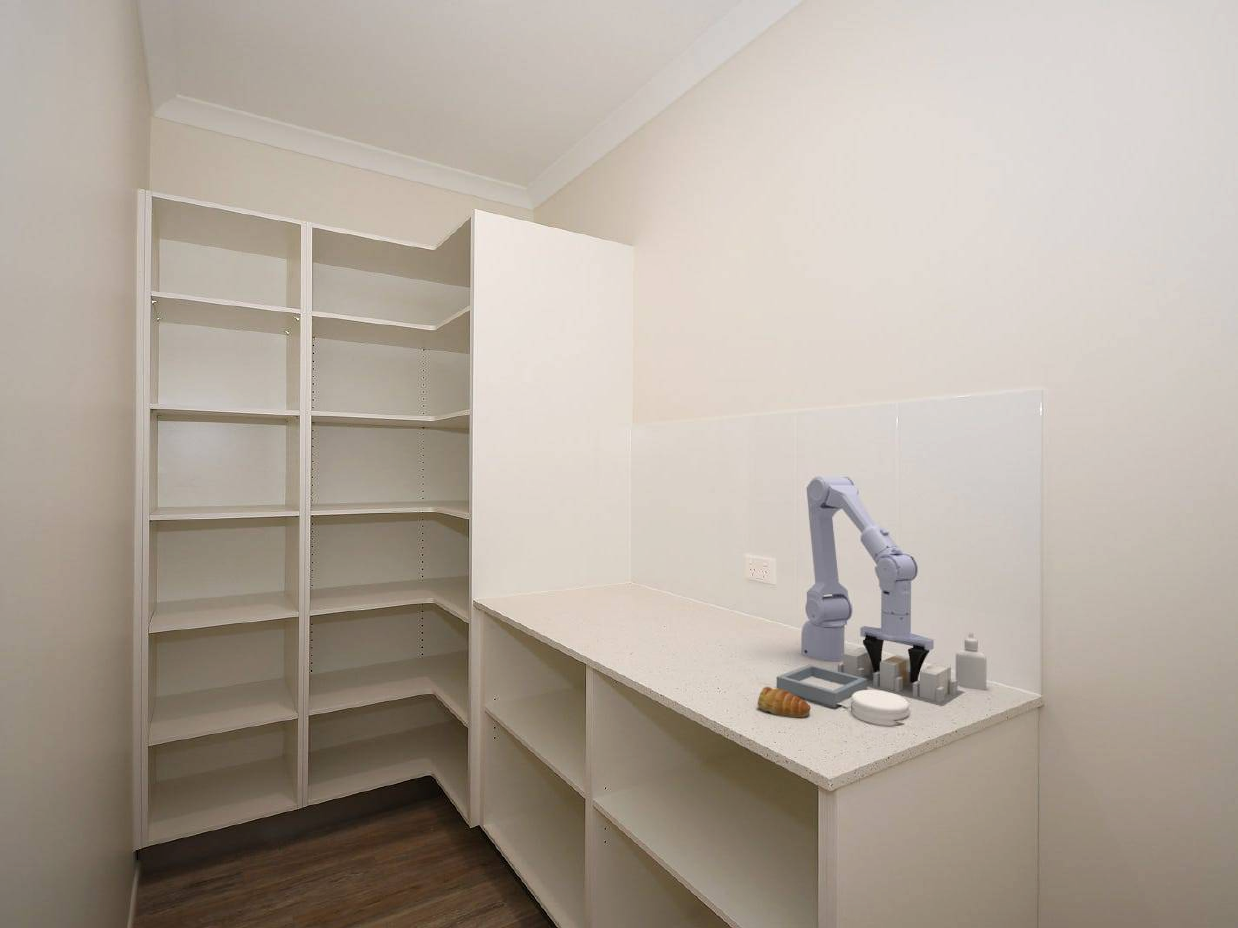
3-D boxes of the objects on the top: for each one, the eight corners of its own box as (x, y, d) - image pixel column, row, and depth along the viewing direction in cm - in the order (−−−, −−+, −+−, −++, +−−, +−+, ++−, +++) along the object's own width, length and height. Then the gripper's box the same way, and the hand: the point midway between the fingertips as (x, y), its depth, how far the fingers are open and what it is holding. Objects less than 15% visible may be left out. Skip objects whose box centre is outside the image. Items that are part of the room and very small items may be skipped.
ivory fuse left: (843, 676, 137) (843, 653, 137) (860, 669, 143) (860, 646, 143) (856, 680, 135) (856, 656, 135) (873, 672, 140) (873, 649, 140)
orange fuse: (879, 686, 131) (879, 661, 131) (896, 677, 137) (896, 654, 137) (894, 689, 129) (894, 665, 129) (910, 681, 134) (910, 657, 135)
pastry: (815, 712, 120) (815, 691, 120) (802, 723, 114) (803, 702, 114) (768, 701, 125) (768, 681, 125) (754, 711, 120) (754, 691, 120)
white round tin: (876, 703, 125) (876, 685, 125) (921, 721, 116) (921, 702, 116) (839, 712, 120) (839, 693, 120) (884, 731, 111) (884, 711, 111)
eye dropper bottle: (964, 684, 136) (964, 628, 136) (990, 693, 131) (990, 634, 131) (951, 688, 134) (952, 631, 134) (977, 696, 129) (977, 637, 129)
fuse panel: (830, 681, 137) (830, 664, 137) (856, 669, 145) (856, 654, 145) (942, 711, 120) (942, 692, 120) (964, 696, 129) (964, 679, 129)
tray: (776, 691, 130) (776, 676, 130) (809, 677, 139) (809, 664, 139) (835, 709, 121) (835, 693, 121) (867, 693, 130) (867, 678, 130)
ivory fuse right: (919, 696, 125) (919, 671, 125) (935, 687, 131) (935, 663, 131) (935, 700, 123) (935, 674, 123) (950, 691, 129) (950, 666, 129)
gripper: (853, 608, 136) (853, 672, 135) (924, 621, 125) (923, 690, 125) (869, 604, 140) (868, 666, 140) (937, 615, 130) (937, 682, 130)
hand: (895, 677), depth 133 cm, fingers open, 7 cm apart
